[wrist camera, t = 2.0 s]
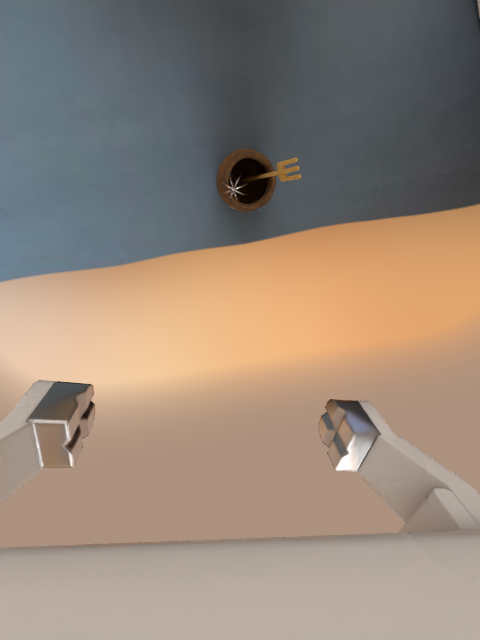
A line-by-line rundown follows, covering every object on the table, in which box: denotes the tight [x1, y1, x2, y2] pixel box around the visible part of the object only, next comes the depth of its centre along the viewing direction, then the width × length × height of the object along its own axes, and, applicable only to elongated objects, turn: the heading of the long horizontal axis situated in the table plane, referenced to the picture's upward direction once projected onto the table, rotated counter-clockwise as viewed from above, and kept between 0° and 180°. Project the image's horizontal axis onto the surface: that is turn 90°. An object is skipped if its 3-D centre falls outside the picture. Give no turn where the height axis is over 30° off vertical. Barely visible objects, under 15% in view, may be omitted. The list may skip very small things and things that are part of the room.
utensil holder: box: [217, 149, 301, 212], centre depth 27 cm, size 6×6×12 cm
